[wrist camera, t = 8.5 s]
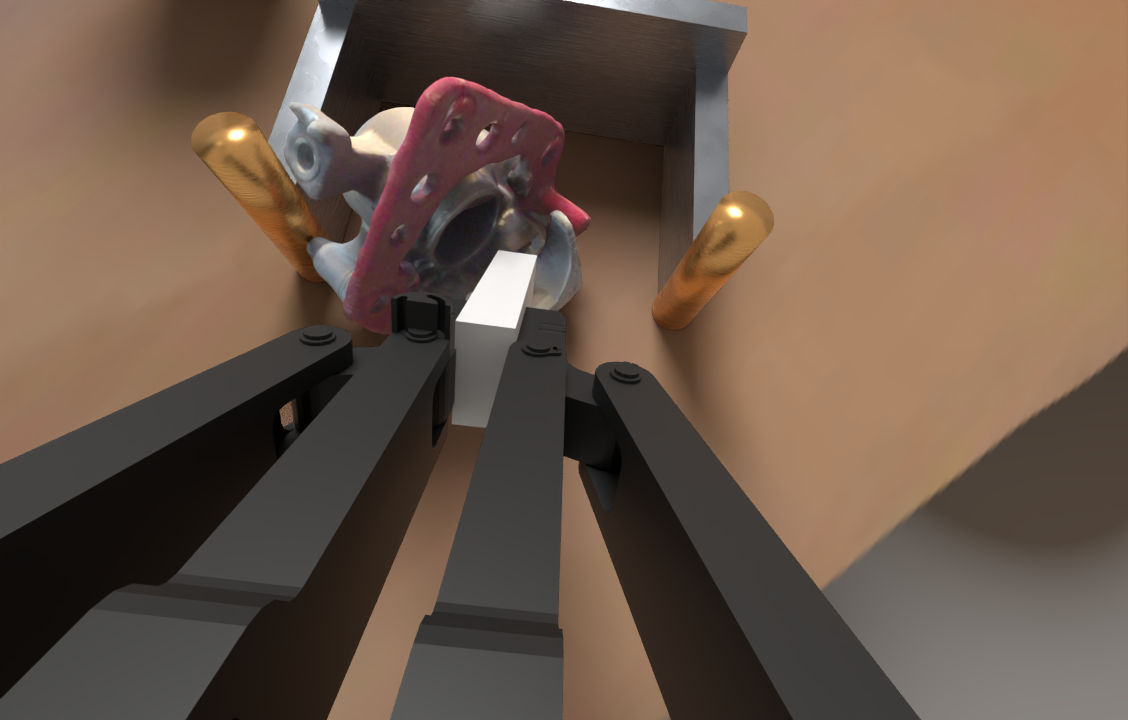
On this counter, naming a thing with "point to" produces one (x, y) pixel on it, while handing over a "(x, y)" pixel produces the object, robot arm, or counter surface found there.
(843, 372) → the counter surface
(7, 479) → the robot arm
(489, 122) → the brake caliper
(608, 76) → the bracket
